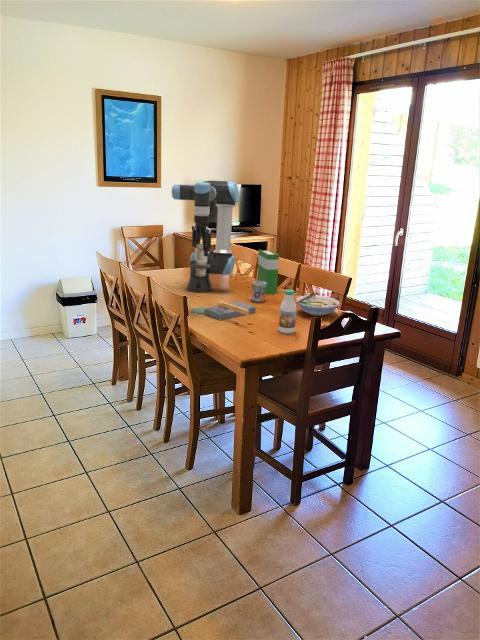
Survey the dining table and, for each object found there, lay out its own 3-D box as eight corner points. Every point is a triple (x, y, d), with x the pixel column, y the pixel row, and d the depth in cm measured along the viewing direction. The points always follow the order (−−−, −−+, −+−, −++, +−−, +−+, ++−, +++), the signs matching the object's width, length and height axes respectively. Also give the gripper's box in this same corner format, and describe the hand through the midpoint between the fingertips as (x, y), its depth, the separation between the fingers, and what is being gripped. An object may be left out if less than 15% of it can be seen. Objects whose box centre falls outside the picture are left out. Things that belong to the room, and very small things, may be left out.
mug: (267, 303, 283) (268, 284, 280) (251, 303, 282) (252, 284, 279) (264, 297, 295) (264, 279, 292) (248, 297, 294) (249, 279, 290)
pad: (187, 310, 263) (187, 309, 263) (201, 308, 269) (201, 307, 269) (198, 315, 257) (198, 313, 257) (212, 312, 263) (212, 311, 262)
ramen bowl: (327, 324, 251) (329, 308, 248) (286, 315, 262) (287, 300, 259) (345, 312, 271) (347, 298, 268) (306, 305, 282) (308, 291, 280)
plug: (187, 274, 257) (187, 243, 252) (202, 272, 263) (202, 242, 259) (199, 278, 251) (199, 246, 246) (214, 276, 257) (214, 244, 252)
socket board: (204, 314, 259) (204, 303, 257) (239, 306, 274) (239, 296, 272) (220, 320, 250) (220, 309, 248) (255, 312, 265) (255, 302, 263)
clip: (221, 304, 256) (221, 300, 255) (250, 314, 242) (250, 309, 241) (216, 305, 253) (216, 301, 253) (245, 315, 239) (245, 311, 239)
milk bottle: (277, 328, 241) (279, 288, 235) (293, 328, 241) (296, 288, 235) (279, 333, 233) (282, 292, 227) (296, 334, 234) (299, 292, 228)
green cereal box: (256, 286, 319) (258, 249, 312) (267, 286, 321) (270, 249, 314) (265, 294, 303) (267, 254, 296) (276, 293, 305) (279, 254, 297)
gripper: (184, 213, 252) (184, 259, 259) (207, 217, 239) (206, 265, 246) (196, 212, 256) (196, 257, 264) (219, 216, 244) (218, 263, 251)
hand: (201, 261), depth 255 cm, fingers closed on plug, 5 cm apart
